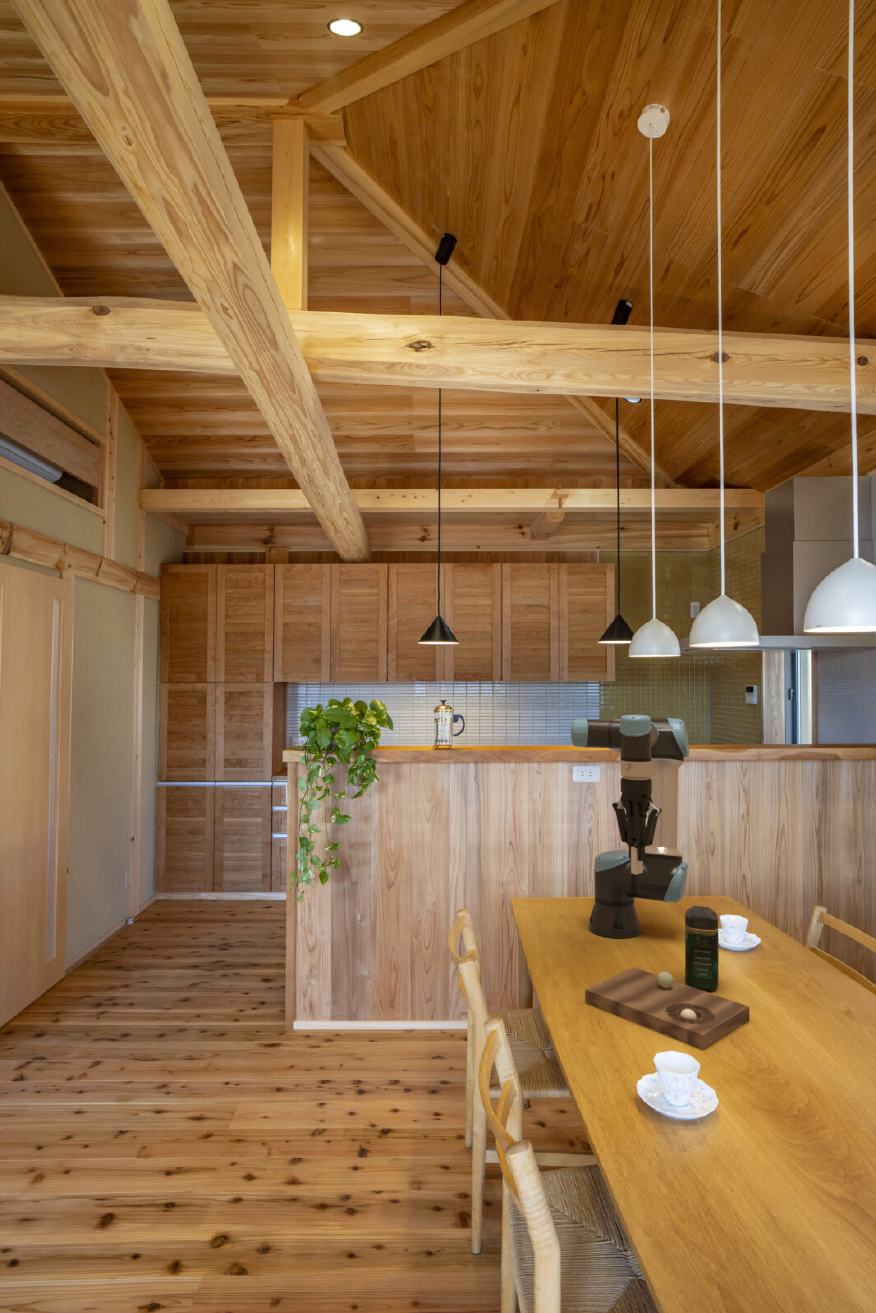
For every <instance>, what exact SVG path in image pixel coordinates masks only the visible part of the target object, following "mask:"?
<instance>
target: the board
mask: <svg viewBox="0 0 876 1313" xmlns="http://www.w3.org/2000/svg"><path fill="white" fill-rule="evenodd" d="M658 975H659V974H654V973H652V972H649V971H646V970H643V969H639V968H637V967H632V968H629V969H627V970H625V971H623V972H621V973H619V974H616V975H614V976H612V977H609V978H607V979H605V980H603V981H601V982H598V983H597V984H594V985H592V986H589V987H587V988H586V989H584V1003H585V1004H588V1005H591V1006H594V1007H596V1008H598V1009H600V1010H603V1011H606V1012H607V1013H610V1012H611V1013H610V1014H612V1015H616V1016H618V1017H620V1016H621V1017H620V1018H623V1017H624V1018H623V1019H625V1018H626V1019H625V1020H627V1019H628V1020H627V1021H630V1022H632V1021H633V1023H636V1024H638V1025H640V1026H642V1025H643V1026H642V1027H645V1026H646V1027H645V1028H647V1027H648V1028H647V1029H650V1030H653V1031H655V1032H657V1031H658V1033H661V1034H662V1035H665V1034H666V1035H665V1036H667V1035H668V1036H667V1037H671V1038H673V1039H675V1040H678V1041H679V1042H683V1043H685V1044H687V1045H689V1046H692V1047H695V1048H697V1049H699V1050H702V1051H705V1050H706V1049H707V1048H709V1047H710V1046H712V1045H714V1044H715V1043H717V1042H718V1041H720V1040H721V1039H723V1038H724V1037H726V1036H728V1035H729V1034H731V1033H732V1032H733V1031H735V1030H737V1029H738V1028H740V1027H741V1026H743V1025H745V1024H746V1023H748V1022H749V1021H750V1006H749V1005H745V1004H743V1003H739V1002H737V1001H734V1000H732V999H728V998H726V997H722V996H720V995H716V994H714V993H710V992H707V991H702V990H699V989H696V988H693V987H690V986H687V984H685V983H681V982H678V981H676V980H675V981H674V980H673V984H672V986H671V987H669V988H663V987H661V986H660V985H659V984H658V981H657V977H658ZM684 1009H691V1010H693V1011H694V1012H695V1013H696V1015H697V1019H690V1018H685V1017H683V1016H681V1015H680V1013H681V1012H682V1011H683V1010H684ZM740 1025H741V1026H740Z"/></svg>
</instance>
